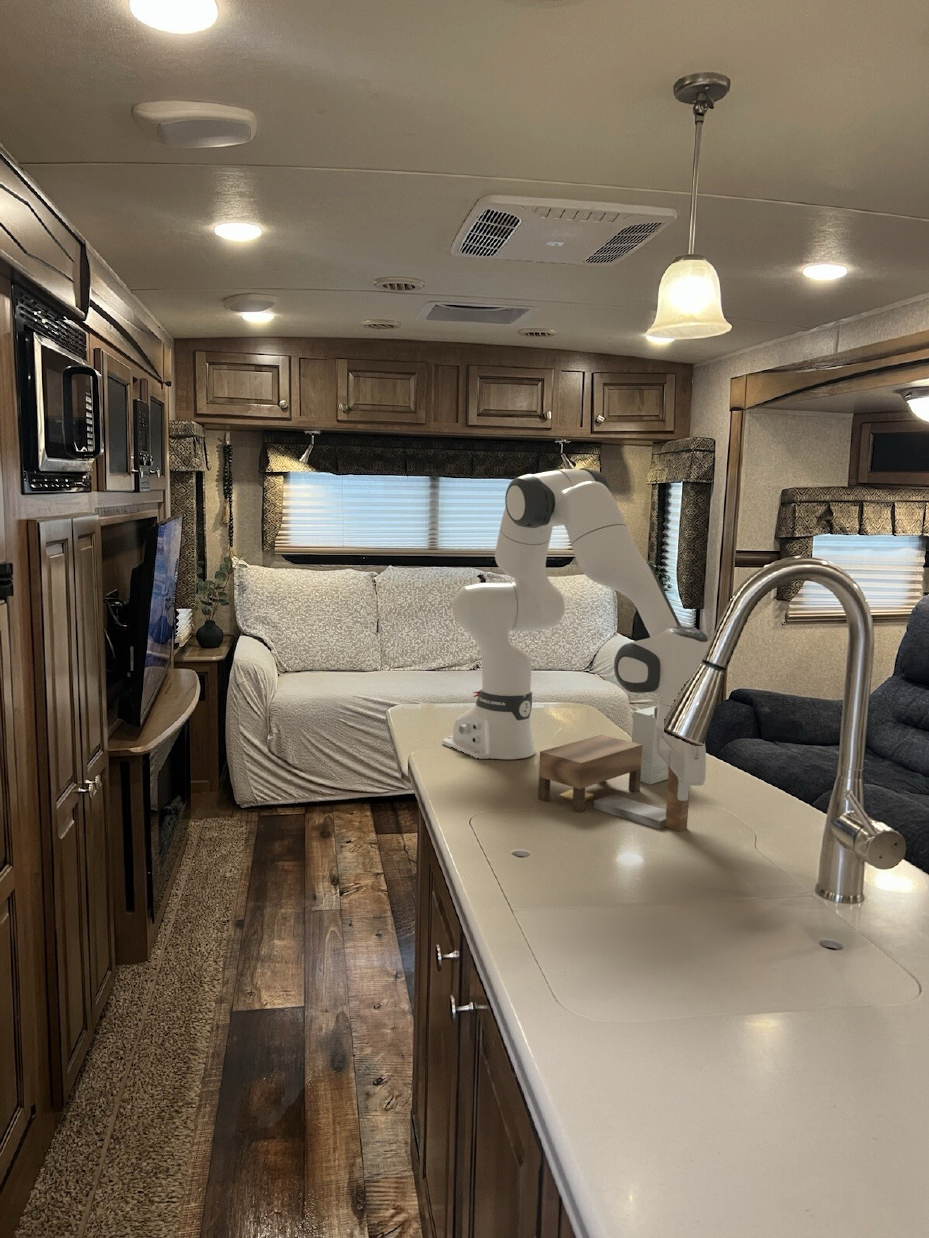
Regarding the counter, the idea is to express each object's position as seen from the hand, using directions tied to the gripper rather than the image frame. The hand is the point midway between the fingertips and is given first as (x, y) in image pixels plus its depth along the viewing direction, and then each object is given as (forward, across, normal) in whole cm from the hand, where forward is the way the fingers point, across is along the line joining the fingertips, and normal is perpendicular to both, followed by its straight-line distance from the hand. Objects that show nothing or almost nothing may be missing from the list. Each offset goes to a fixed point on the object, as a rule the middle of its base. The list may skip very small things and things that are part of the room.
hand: (678, 794), depth 164 cm
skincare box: (+6, +29, -2) cm, 30 cm away
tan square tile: (+7, +16, +16) cm, 23 cm away
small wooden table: (+6, +18, +13) cm, 23 cm away
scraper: (+6, +5, +5) cm, 9 cm away
